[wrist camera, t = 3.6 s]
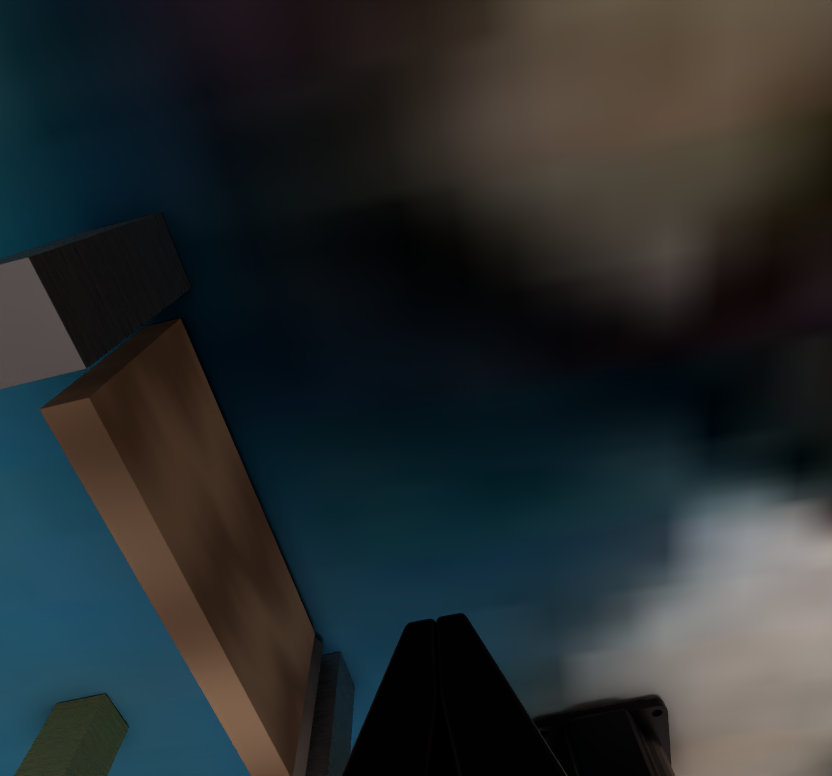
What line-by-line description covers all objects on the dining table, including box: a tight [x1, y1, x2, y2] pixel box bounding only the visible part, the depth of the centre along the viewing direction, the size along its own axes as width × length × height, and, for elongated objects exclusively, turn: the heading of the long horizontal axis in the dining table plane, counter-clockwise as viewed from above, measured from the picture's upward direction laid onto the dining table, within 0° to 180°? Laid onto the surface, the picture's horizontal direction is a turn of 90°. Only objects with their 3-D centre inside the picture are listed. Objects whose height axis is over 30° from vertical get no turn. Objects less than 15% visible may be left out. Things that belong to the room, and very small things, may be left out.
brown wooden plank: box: [40, 318, 323, 776], centre depth 19 cm, size 16×2×6 cm, turn 13°
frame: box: [0, 213, 355, 776], centre depth 19 cm, size 22×13×7 cm, turn 13°
